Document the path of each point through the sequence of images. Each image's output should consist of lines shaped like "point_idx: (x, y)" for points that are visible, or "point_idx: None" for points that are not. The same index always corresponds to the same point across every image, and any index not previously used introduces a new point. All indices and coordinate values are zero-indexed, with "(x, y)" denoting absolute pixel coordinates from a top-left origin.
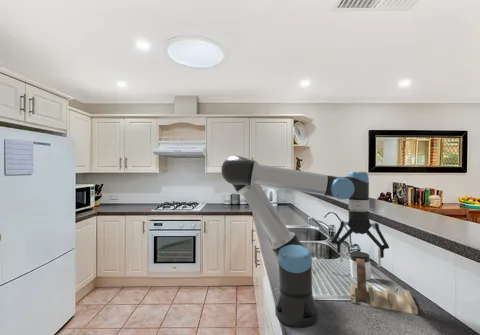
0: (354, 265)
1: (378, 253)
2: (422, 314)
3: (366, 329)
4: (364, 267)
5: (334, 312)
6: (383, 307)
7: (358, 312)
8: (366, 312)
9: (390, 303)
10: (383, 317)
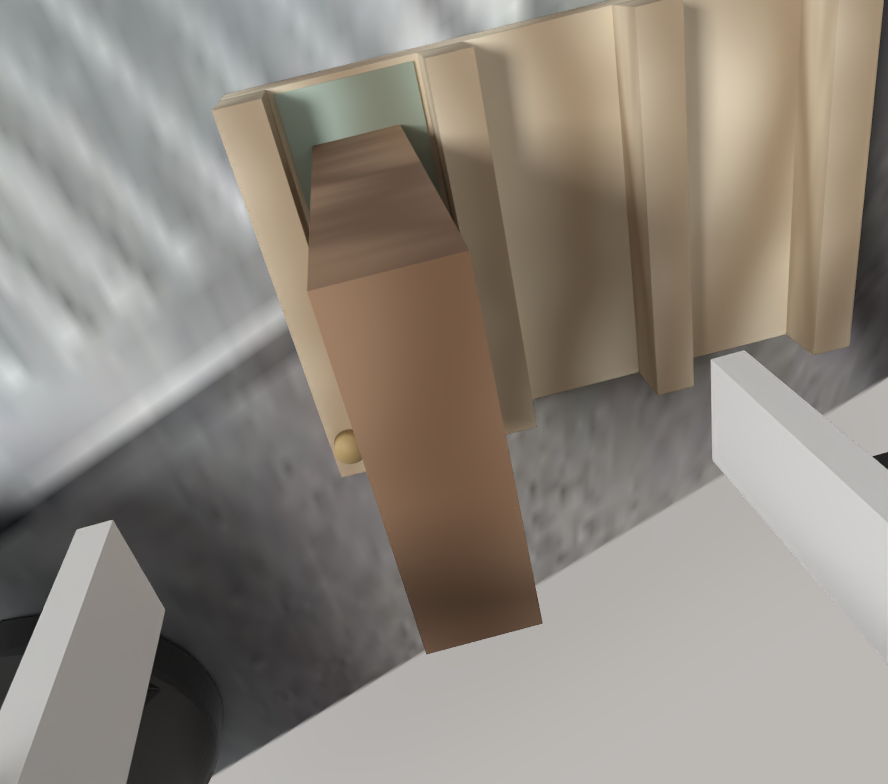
0: None
1: (863, 629)
2: None
3: None
4: (528, 619)
5: (264, 565)
6: (587, 373)
7: None
8: None
9: (657, 388)
10: (575, 432)
